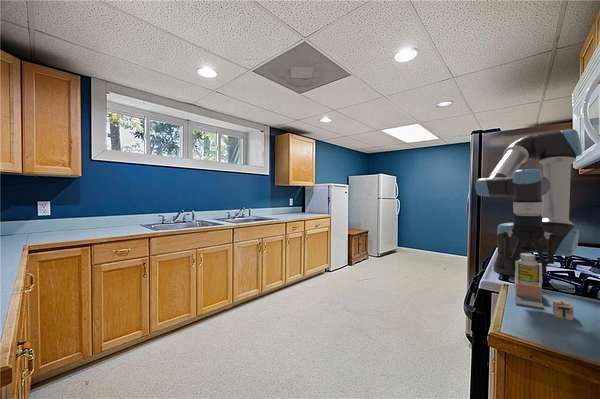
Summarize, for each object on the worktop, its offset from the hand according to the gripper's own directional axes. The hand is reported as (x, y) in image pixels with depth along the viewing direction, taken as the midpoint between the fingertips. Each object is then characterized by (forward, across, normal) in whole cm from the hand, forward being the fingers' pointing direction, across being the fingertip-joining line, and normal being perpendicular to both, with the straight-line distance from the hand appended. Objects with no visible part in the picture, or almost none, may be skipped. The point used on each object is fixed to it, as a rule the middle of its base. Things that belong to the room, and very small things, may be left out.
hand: (528, 281), depth 90 cm
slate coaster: (+8, 0, 0) cm, 8 cm away
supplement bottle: (+1, 0, 0) cm, 1 cm away
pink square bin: (+8, +1, +8) cm, 11 cm away
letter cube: (+8, +8, -6) cm, 12 cm away
